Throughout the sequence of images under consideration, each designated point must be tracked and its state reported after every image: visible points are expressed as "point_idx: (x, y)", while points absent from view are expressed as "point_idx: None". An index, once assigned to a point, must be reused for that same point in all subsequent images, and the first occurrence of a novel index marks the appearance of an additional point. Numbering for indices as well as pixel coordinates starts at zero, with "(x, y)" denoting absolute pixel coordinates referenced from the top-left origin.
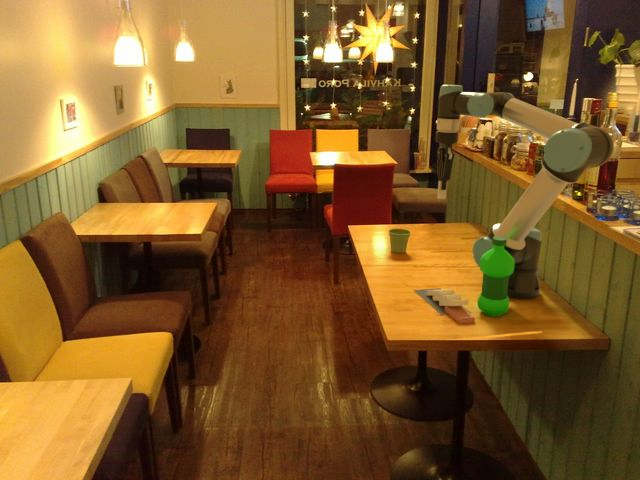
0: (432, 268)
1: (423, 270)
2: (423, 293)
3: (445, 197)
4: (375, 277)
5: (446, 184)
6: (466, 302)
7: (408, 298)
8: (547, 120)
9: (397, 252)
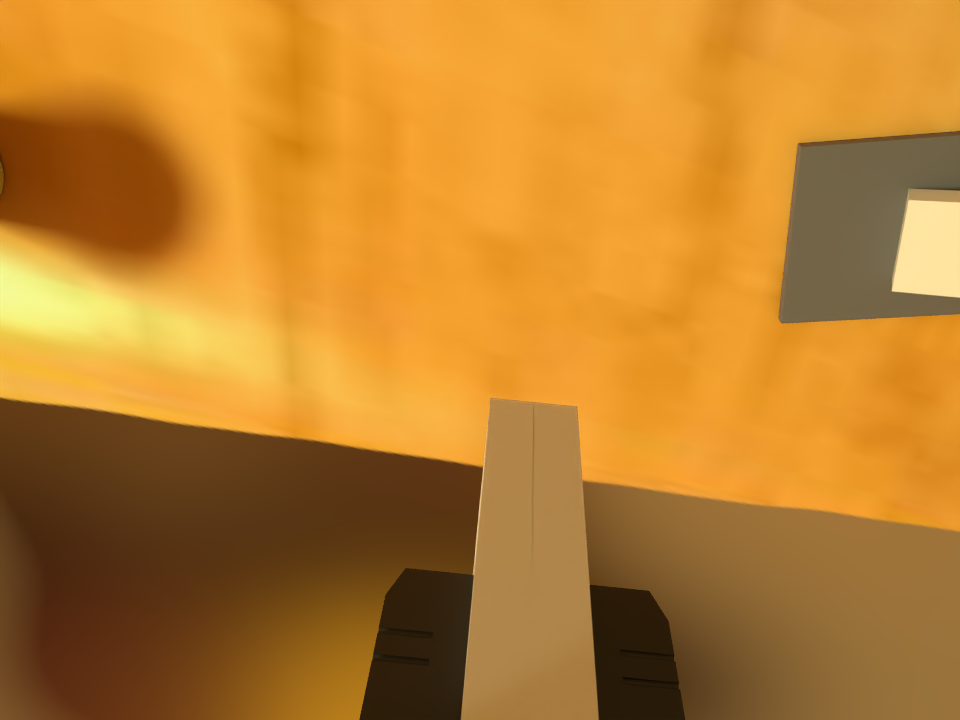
0: (344, 25)
1: (390, 116)
2: (855, 285)
3: (575, 433)
4: None
5: (590, 677)
6: None
7: (868, 372)
8: None
9: (1, 185)
